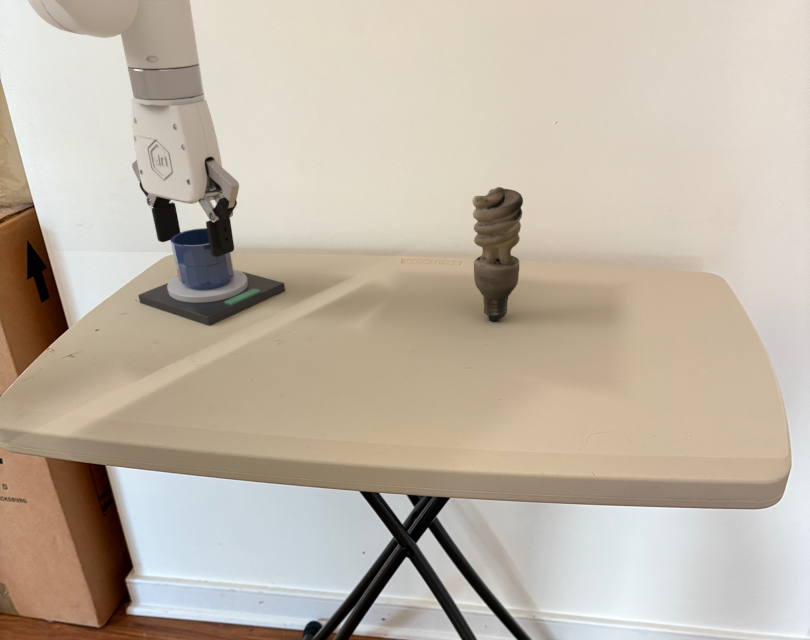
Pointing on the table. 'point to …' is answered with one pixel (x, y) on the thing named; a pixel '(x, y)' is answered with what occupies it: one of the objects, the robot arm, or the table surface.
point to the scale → (212, 297)
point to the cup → (200, 261)
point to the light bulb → (497, 248)
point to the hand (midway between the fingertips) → (195, 246)
